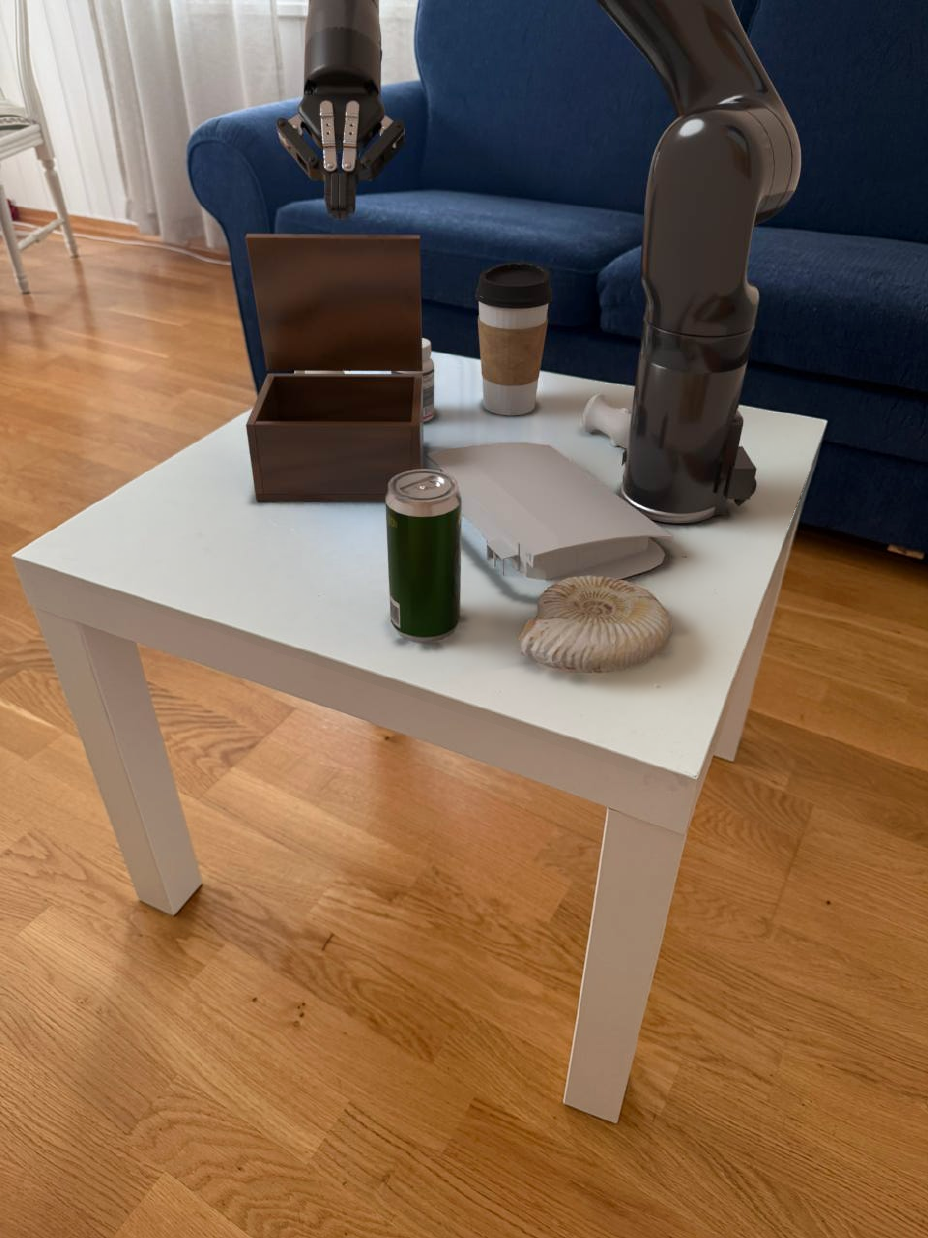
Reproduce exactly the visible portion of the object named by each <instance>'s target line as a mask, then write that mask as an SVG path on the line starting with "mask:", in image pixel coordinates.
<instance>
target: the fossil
mask: <svg viewBox="0 0 928 1238" xmlns="http://www.w3.org/2000/svg"><path fill="white" fill-rule="evenodd" d="M536 612H537V616H535V617H532V618H530V619H529V620H528V621H527V622H526V623H525V624H524V626H523V629H522V632H521V634H520V635H519V638H518V639H519V641H518V647H519V652H520V654H521V655H522V656H523V657H525V658H527V659H529V660H532V661H533V662H536V663H539V664H541V665H542V666H545V667H547V668H549V669H558V670H561V671H568V672H569V673H578V674H579V673H584V674H585V673H586V674H591V673H596V674H603V673H618V672H619V673H620V672H623V671H624V672H625V671H626V670H630V669H635V668H639V667H642V666H643V665H645V664H647V663H649V662H650V661H652V660H653V659H655V658H656V657H657V656H659V655H660V654H661V652H662V651H664V649H665V648H666V646H667V645H668V643H669V641H670V638H671V635H672V633H673V632H672V631H673V624H672V617H671V616H670V614H669V612H668V610H667V609H666V608H665V607H664V605H663V604H662V603H661V602H660V600H659V599H658V598H657V597H656V596H655V595H654V594H653V593H652V592H650V591H649V589H646V588H644V587H642V586H639V585H638V584H636V583H633V582H630V581H627V580H623V579H615V578H610V577H604V576H580V577H572V578H566V579H564V580H562V581H560V582H558V583H556V584H554V585H552V584H551V586H548V587H547V589H545V590H543V592H542V593H541V594H540V596H539V597H538V600H537V603H536Z"/></svg>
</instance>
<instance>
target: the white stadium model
mask: <svg viewBox="0 0 928 1238" xmlns="http://www.w3.org/2000/svg"><path fill="white" fill-rule="evenodd" d="M426 457H427V458H428V459H429V461H431V462H432V463H433V464H434V465H435V466H436V467H437V468H438V471H441V472H445V473H447V474H449V475H451V476H453V477H454V478H455V479H456V480H457V482H458V486H459V492H460V494H461V498H462V516H463V517H464V518H465V519H466V520H467V522H469V524H471V525H472V527H474V528H475V529H476V530H477V531H478V533H480V534H481V535H482V536H483V538H485V539H486V541H488V542H486V560H489V559H490V558H492V557H493V567H494V568H495V567H496V566H497V556H498V557H499V558H500V559H501V575H502V576H505V560H506V561H508V563H509V564H510V565H511V566H512V567H513V568H515V570H516V571H517V572H520V573H521V574H522V575H523V576H524V577H525V578H528V579H534V580H538V581H539V580H541V581H545V582H546V581H550V584H551V586H552V585H554V584H556V583H558V582H560V581H562V580H564V579H566V578H572V577H580V576H604V577H610V578H615V579H619V580H623V579H625V578H629V577H632V576H635V575H638V574H642V573H645V572H648V571H650V570H652V569H654V568H655V567H658V566H660V565H661V564H662V563H663V562H664V559H665V556H666V553H665V551H664V550H663V548H662V547H661V545H660V544H659V543H657V542H656V541H655V540H653V539H652V538H658V539H659V538H661V539H673V538H674V536H673V535H672V534H670V533H669V532H668V531H666V530H665V529H663V528H662V527H661V526H660V525H658V524H657V523H655V522H654V520H652V519H649V518H647V517H646V516H644V515H643V514H642V513H640V512H639V511H638V510H636V509H635V508H634V507H632V506H631V505H630V504H628V503H627V502H626V501H624V500H623V499H622V498H620V495H617V494H616V493H615V492H614V491H612V490H611V489H610V488H609V487H607V486H606V485H604V484H603V483H601V482H600V481H599V480H597V479H596V478H594V477H593V476H592V475H591V474H589V473H588V472H587V471H585V470H584V469H583V468H581V467H580V466H578V464H576V463H574V462H573V461H571V460H570V459H569V458H567V457H566V456H565V455H564V454H562V453H561V452H560V451H558V450H557V449H555V447H553V446H551V445H550V444H545V443H543V444H542V443H535V442H525V441H523V442H495V443H485V444H475V445H468V446H461V447H455V448H449V449H443V450H440V451H434V452H430V453H427V454H426Z"/></svg>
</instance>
